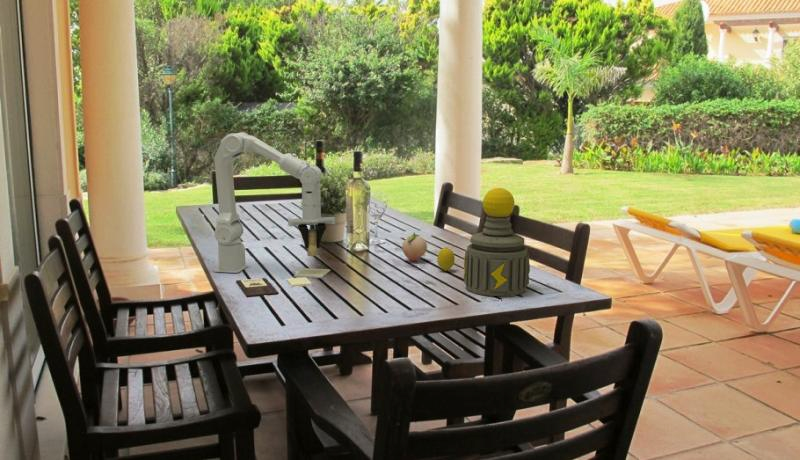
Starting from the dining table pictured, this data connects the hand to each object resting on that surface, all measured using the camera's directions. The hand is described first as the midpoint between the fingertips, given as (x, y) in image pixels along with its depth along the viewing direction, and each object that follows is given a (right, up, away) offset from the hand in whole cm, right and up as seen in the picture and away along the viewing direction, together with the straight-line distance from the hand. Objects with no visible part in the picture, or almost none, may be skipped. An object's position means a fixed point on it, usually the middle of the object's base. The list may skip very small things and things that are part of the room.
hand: (312, 247), depth 232 cm
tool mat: (0, -8, +2) cm, 8 cm away
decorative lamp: (+56, -12, -15) cm, 59 cm away
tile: (-4, -10, -6) cm, 12 cm away
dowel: (0, -2, 0) cm, 2 cm away
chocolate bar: (-14, -12, -16) cm, 25 cm away
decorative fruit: (+33, -5, +20) cm, 39 cm away
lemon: (+42, -8, +6) cm, 44 cm away
